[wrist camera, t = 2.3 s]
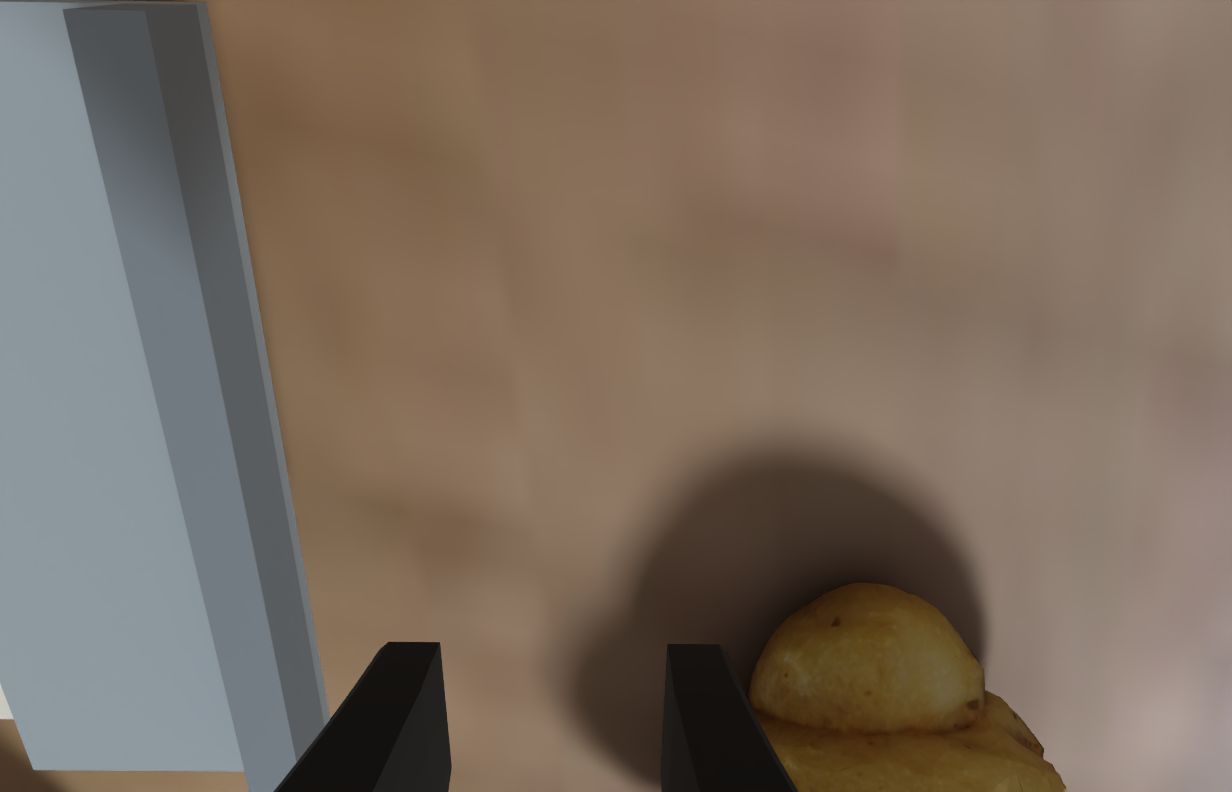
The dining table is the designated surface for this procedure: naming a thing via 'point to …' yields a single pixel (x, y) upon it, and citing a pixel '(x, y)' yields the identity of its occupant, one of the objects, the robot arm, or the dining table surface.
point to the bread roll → (888, 702)
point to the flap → (139, 413)
